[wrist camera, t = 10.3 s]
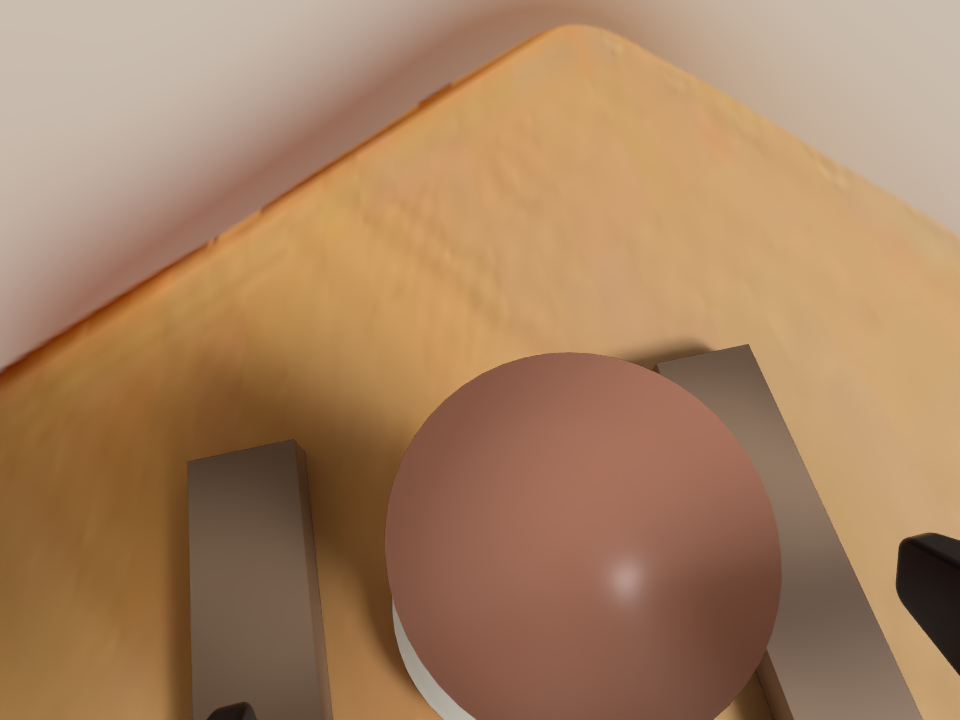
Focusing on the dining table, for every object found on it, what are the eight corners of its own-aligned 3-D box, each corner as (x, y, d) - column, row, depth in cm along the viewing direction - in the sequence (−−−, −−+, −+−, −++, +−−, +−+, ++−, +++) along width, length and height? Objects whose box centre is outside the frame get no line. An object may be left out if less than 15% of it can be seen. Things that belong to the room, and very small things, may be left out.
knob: (608, 798, 15) (829, 1044, 6) (353, 676, 16) (173, 707, 7) (679, 527, 18) (907, 385, 8) (457, 440, 19) (436, 226, 9)
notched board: (1024, 1009, 13) (1071, 1040, 12) (230, 1275, 12) (205, 1338, 11) (733, 360, 20) (748, 344, 19) (204, 472, 18) (187, 461, 17)
